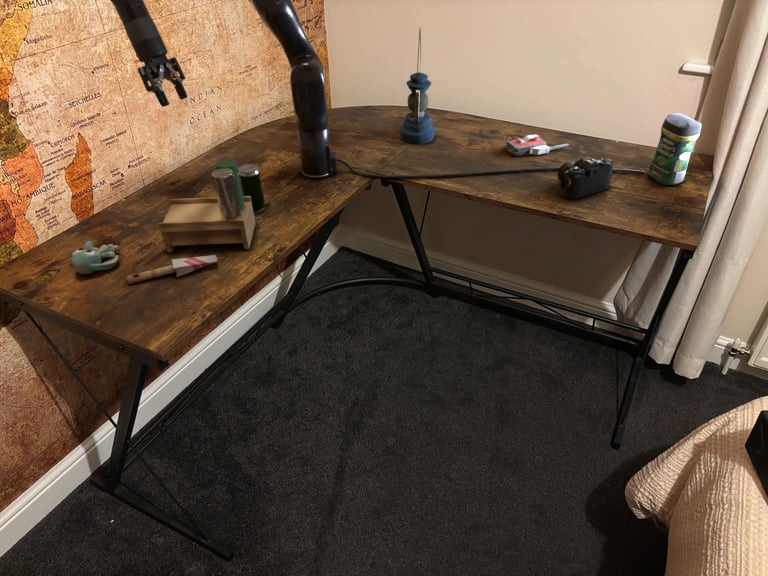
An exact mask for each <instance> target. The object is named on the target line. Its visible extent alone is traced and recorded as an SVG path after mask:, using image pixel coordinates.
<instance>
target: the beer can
mask: <svg viewBox="0 0 768 576" xmlns="http://www.w3.org/2000/svg"><path fill="white" fill-rule="evenodd" d="M238 172H239V177H240V183H241V188H242V193H243V196H251V202H252V207H253V212H254V214H258V213H261V212H262V211H264V210H265V208H266V202H265V195H264V190H263V183H262V177H261V171H260V168H259V167H258V165H256V164H255V163H254V164H253V163H249V164H248V163H247V164H243V165H241V166H240V167H239V168H238Z"/></svg>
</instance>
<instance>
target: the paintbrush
mask: <svg viewBox="0 0 768 576" xmlns="http://www.w3.org/2000/svg"><path fill="white" fill-rule="evenodd" d="M217 262H218V257H217V254H212V255H202V256H192V257H182V258H171V263H172V264H171V265H167V266H163V267H159V268H155V269H150V270H147V271H143V272H138V273H136V274H131V275H127V276H126V280H127V283H128V284H129V285H132V284H135V283H138V282H142V281H147V280H150V279H154V278H158V277H162V276H166V275H170V274H173V273H175V275H176V276H175V277H176V278H179V277H181V276H184V275H187V274H190V273H192V272H194V271H196V270H199V269H201V268H204V267H207V266H209V265H211V264H214V263H217Z"/></svg>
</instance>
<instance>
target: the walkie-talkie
mask: <svg viewBox="0 0 768 576" xmlns="http://www.w3.org/2000/svg"><path fill="white" fill-rule="evenodd" d="M564 147H569V143H563V144H557V145H552V146H551V145H550V146H548V145H547V142H546V141H545V140H543V138H541V136H540V135H538V134H534V133H533V134H529V135H526V136H524V137H523V138H521V137H519V138H517V139H513V140H507V141H506V144H505V151H507V152H508V153H510V154H511V155H512V156H514V157H521V156H526V155H534V156H539V155H544V154H549V153H550V152H551V151H553V150H558V149H561V148H564Z"/></svg>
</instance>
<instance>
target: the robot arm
mask: <svg viewBox="0 0 768 576" xmlns="http://www.w3.org/2000/svg"><path fill="white" fill-rule="evenodd" d="M109 1H110V2H111V4H112V5H113V6H114V8H115V11H116V13H117V15H118V17H119V18H120V21H121V23H122V25H123V28H124V30H125V33H126V36H127V38H128V40H129V43H130V44H131V46H132V48H133V50H134V52H135V55H136V57H137V58H138V61H139V62H140V63H144V65H142V66H139V67H138V68H137V72H138V74H139V77H140V79H141V81H142V83H143V86H144V88H145V90H146V91H147V92H148V93H150V92H151V93H153V94H154V95H155V97H156V99H157V101H158V103H159V105H160V106H161V107H162V108H164V107H167V106H169V105H170V101H169V99H168V97H167V95H166V93H165V91H164V90H163V83H164V82H165V81H164V80H166V81H169V82H170V83H171V84H173V88H174V89H175V92H176V93H177V96H178V98H179V100H185V99H187V98H188V94H187V91H186V88H185V87H184V85H183V83H184V81H185V80H186V76H185V74H184V72H183V69H182V68H181V66H180V64H179V61H178V59H177V57H175V56H173V57H170V58H168V57H167V54H168V53H169V51H168V49H167V46H166V44H165V42H164V40H163V38H162V36H161V33H160V32H159V29H158V26H157V25H156V23H155V22H154V20H153V17H152V16H151V13H150V12H149V10H148V7H147V5H146V4H145V1H144V0H109ZM250 1H251V3H252V6H253V7H254V9H255V12H256V13H257V15H258V17H259V18H260V20H261V21H262V23H263V25H265V27H266V28H267V29H268V31H269V32H270V33H271V35H273V37H274V38H275V39H276V40H277V43H278V44H279V45H280V46H281V48H282V50H283V53H284V54H285V57H286V60H287V62H288V65H289V67H290V70H291V71H290V74H289V75H290V76H289V83H290V92H291V100H292V106H293V110H294V114H295V122H296V123H295V124H296V132H297V140H298V148H299V160H300V164H301V165H300V167H301V174H302V176H304V177H306V178H309V179H323V178H326V177H330V176H333V171H334V169H333V168H337V162H338V163H340V164H343V165H344V166H346V167H347V168H348V170H349V171H350V172H352V173H354V174H355V175H358V176H362V177H367V178H375V179H429V178H431V179H432V178H433V179H434V178H448V177H449V178H452V177H465V176H477V175H478V176H479V175H490V174H492V175H493V174H503V173H504V174H505V173H515V172H517V173H518V172H533V171H559V169H560V167H561V166H545V167H543V166H541V167H540V166H539V167H523V168H509V169H508V168H507V169H495V170H482V171H470V172H469V171H468V172H456V173H439V174H438V173H437V174H415V175H414V174H405V175H403V174H397V175H396V174H391V175H390V174H389V175H388V174H383V175H382V174H374V173H365V172H364V173H363V172H360V171H358V170H356V169H354V168H353V167H352V165H350V163H348V162H347V161H345V160H343V159H341V158H338V157H337V151H332V141H331V135H330V124H329V122H330V121H329V111H328V104H327V94H326V81H325V80H326V69H325V66H324V64H323V62H322V60H321V58H320V57H319V56H318V54H317V52H316V51H315V49H314V47H313V45H312V44H311V42H310V41H309V39H308V37H307V35H306V33H305V30H304V29H303V27H302V23H301V21H300V18H299V16H298V14H297V11H296V9H295V6H294V4H293V1H292V0H250ZM612 172H617V173H631V174H642V175H644V174H646V173H645V172H646V171H645V170H640V169H629V168H628V169H627V168H614V167H613V171H612Z"/></svg>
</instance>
